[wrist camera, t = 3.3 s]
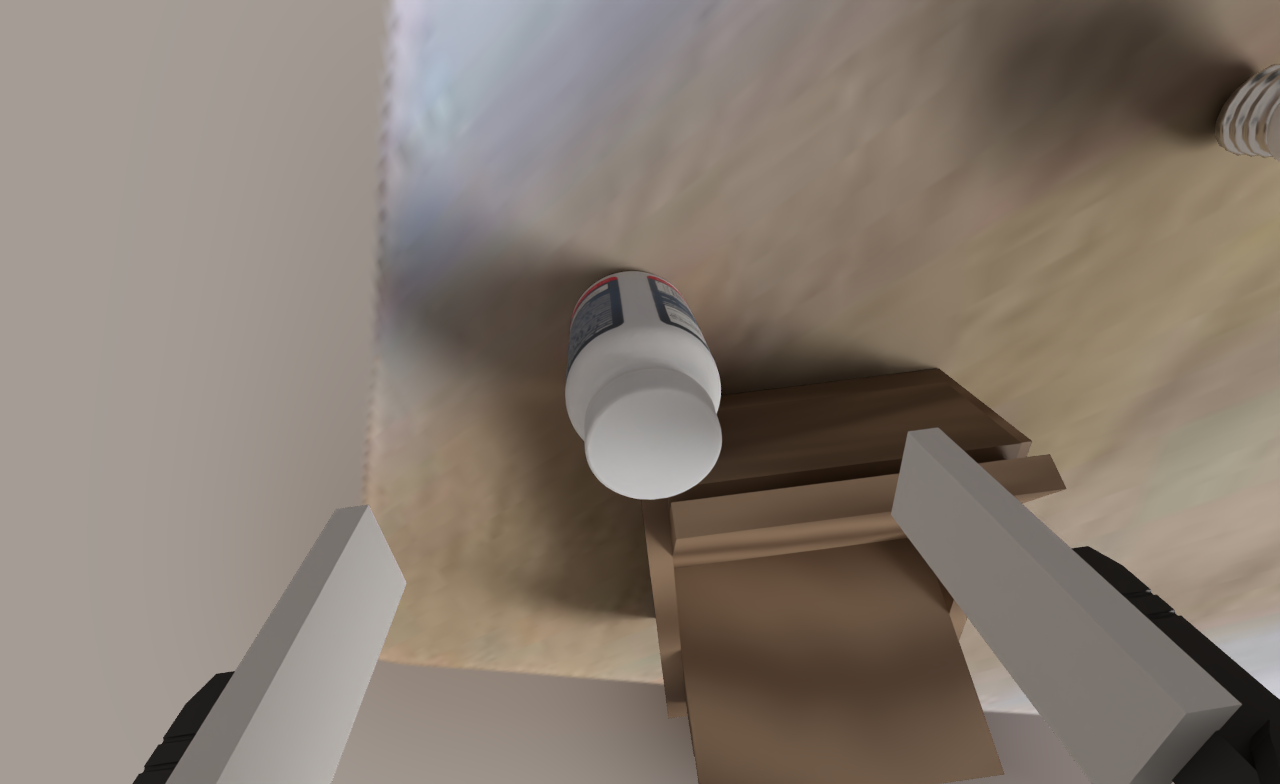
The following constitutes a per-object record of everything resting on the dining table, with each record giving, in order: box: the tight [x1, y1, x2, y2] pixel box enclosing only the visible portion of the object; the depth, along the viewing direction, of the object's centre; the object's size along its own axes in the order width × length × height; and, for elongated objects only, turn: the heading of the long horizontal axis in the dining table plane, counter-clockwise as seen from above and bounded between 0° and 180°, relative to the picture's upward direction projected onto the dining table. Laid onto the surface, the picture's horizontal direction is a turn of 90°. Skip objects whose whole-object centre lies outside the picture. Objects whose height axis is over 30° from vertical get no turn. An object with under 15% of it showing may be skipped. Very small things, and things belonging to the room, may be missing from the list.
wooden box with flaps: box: [641, 369, 1066, 784], centre depth 23 cm, size 17×15×11 cm
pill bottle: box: [565, 271, 722, 500], centre depth 18 cm, size 5×5×9 cm
